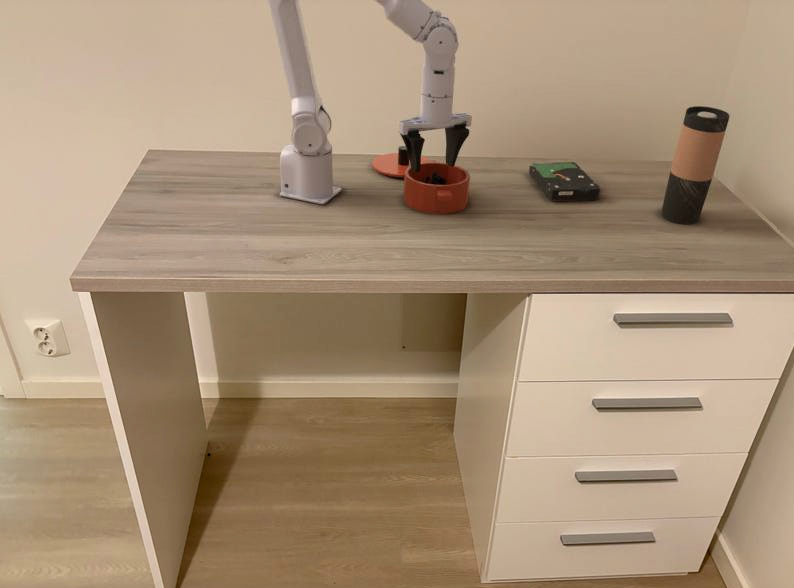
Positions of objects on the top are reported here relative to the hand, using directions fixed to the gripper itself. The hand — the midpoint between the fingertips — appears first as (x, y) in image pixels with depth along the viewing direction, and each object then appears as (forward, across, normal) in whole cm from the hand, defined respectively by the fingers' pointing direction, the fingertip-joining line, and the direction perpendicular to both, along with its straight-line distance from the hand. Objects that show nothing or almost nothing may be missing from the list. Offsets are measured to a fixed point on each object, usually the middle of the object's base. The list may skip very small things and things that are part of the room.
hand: (432, 167), depth 136 cm
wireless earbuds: (+6, -1, +1) cm, 6 cm away
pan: (+6, -1, +1) cm, 7 cm away
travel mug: (+7, -41, +26) cm, 49 cm away
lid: (+6, -3, -17) cm, 18 cm away
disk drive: (+7, -29, +5) cm, 30 cm away
